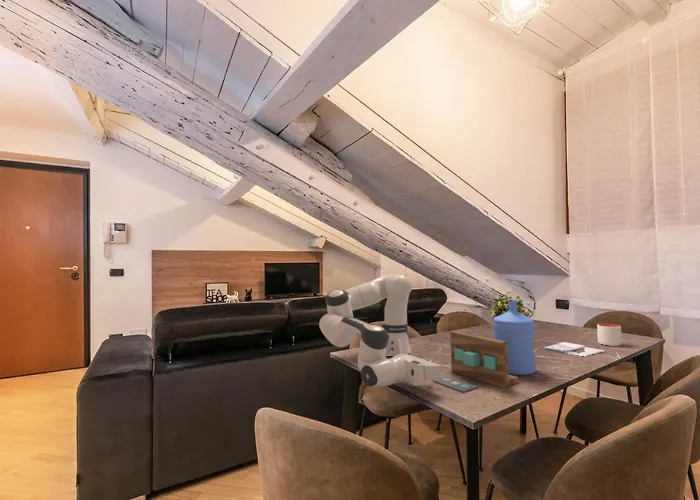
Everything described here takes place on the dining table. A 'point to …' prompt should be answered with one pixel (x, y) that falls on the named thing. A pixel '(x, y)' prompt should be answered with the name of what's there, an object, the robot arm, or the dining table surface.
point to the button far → (459, 353)
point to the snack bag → (567, 347)
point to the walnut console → (482, 358)
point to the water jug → (516, 340)
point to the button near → (490, 361)
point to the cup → (609, 334)
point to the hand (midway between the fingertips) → (431, 361)
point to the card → (456, 384)
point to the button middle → (472, 358)
